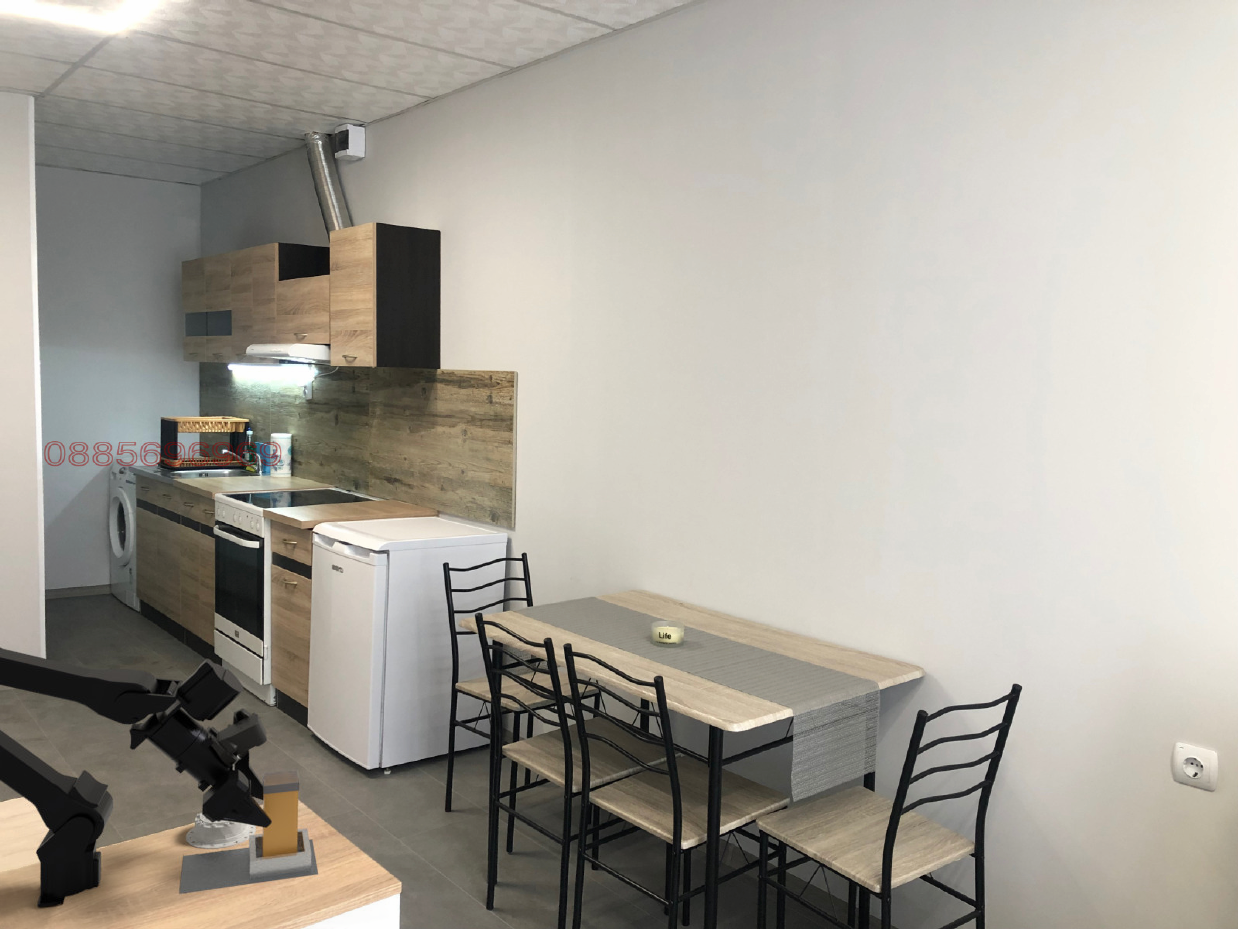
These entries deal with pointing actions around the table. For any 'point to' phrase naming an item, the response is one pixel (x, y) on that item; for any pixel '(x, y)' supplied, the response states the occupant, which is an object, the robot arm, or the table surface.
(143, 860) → the table surface
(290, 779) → the capped orange pillar
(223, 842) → the mechanical component
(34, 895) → the table surface
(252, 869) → the grey socket base plate
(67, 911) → the table surface
